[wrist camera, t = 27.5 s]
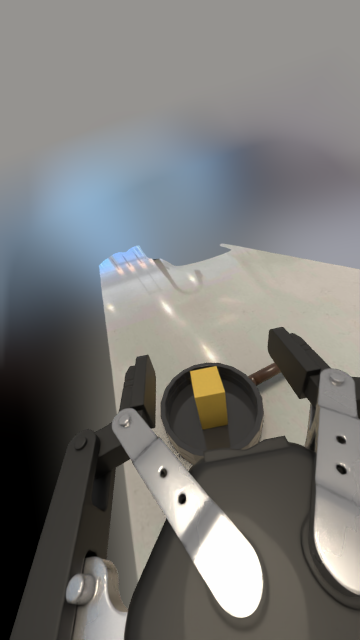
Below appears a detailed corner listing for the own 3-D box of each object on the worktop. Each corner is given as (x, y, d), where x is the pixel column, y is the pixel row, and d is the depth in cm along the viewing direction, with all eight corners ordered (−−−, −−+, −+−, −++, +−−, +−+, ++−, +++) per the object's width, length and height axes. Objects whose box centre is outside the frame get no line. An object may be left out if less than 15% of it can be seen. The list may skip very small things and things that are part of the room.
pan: (190, 495, 27) (185, 483, 24) (155, 400, 40) (149, 386, 37) (285, 434, 31) (289, 419, 28) (224, 365, 44) (223, 351, 41)
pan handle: (251, 390, 35) (251, 383, 34) (244, 382, 36) (244, 375, 35) (306, 360, 38) (308, 353, 37) (297, 354, 40) (299, 347, 38)
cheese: (228, 424, 33) (225, 391, 28) (202, 429, 33) (194, 397, 28) (220, 398, 37) (216, 365, 32) (197, 403, 37) (189, 371, 32)
